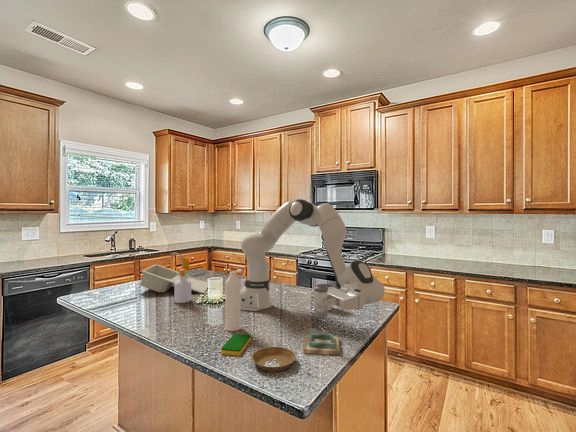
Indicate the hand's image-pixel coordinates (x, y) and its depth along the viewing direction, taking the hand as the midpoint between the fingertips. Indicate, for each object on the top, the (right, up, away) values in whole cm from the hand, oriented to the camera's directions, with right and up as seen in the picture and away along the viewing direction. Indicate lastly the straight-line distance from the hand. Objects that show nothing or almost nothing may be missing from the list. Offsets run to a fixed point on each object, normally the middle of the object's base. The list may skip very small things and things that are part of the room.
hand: (319, 299), depth 119 cm
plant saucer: (-17, -18, -13) cm, 28 cm away
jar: (+7, -17, +46) cm, 49 cm away
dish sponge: (-31, -18, 0) cm, 36 cm away
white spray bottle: (-35, -17, +18) cm, 44 cm away
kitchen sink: (-84, -16, +83) cm, 119 cm away
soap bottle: (-71, -16, +58) cm, 93 cm away
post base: (+1, -18, 0) cm, 18 cm away
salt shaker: (+1, -6, 0) cm, 6 cm away
